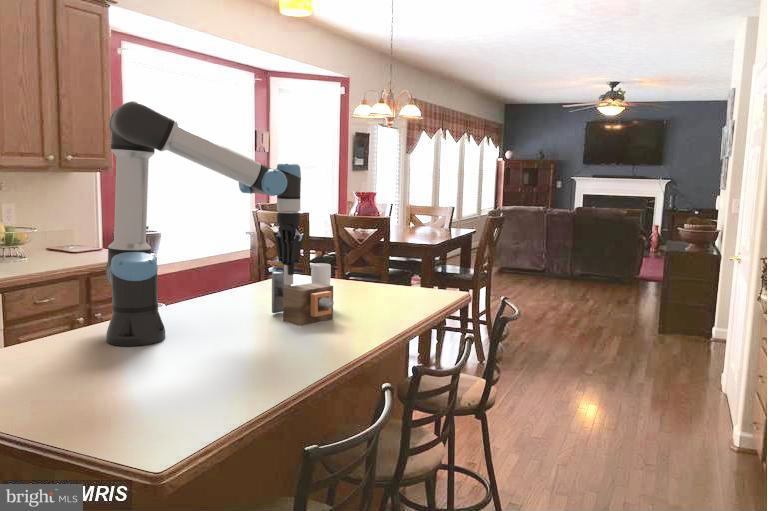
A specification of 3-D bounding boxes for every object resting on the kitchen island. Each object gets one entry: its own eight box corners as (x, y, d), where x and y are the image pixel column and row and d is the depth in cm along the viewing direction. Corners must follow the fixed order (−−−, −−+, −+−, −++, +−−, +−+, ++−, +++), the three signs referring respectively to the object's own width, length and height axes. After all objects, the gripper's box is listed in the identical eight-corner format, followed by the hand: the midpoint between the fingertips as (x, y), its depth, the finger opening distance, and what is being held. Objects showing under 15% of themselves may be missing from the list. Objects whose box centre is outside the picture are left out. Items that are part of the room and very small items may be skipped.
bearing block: (299, 325, 195) (299, 291, 194) (283, 321, 201) (283, 287, 199) (332, 318, 205) (333, 285, 204) (316, 314, 211) (316, 282, 209)
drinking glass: (331, 305, 226) (332, 263, 224) (328, 309, 219) (328, 266, 217) (313, 304, 226) (313, 262, 224) (309, 308, 220) (309, 265, 218)
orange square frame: (314, 316, 195) (315, 294, 195) (310, 315, 197) (310, 293, 196) (331, 313, 200) (331, 291, 200) (327, 312, 202) (327, 290, 201)
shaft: (321, 325, 194) (321, 283, 192) (271, 312, 210) (271, 273, 208) (338, 322, 199) (338, 281, 197) (288, 309, 215) (288, 271, 213)
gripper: (310, 212, 204) (310, 285, 207) (285, 210, 212) (284, 280, 215) (292, 213, 198) (292, 288, 201) (266, 211, 207) (266, 282, 210)
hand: (288, 284), depth 208 cm, fingers closed
